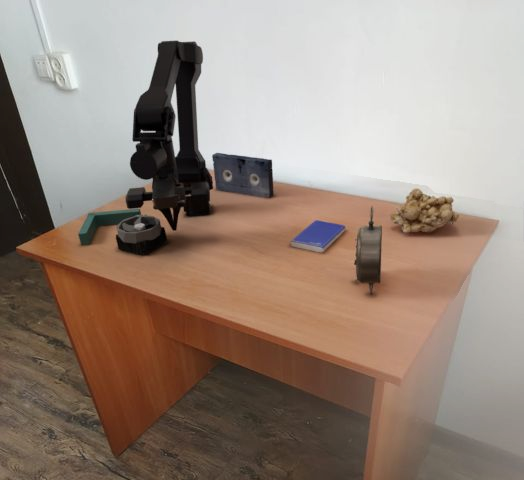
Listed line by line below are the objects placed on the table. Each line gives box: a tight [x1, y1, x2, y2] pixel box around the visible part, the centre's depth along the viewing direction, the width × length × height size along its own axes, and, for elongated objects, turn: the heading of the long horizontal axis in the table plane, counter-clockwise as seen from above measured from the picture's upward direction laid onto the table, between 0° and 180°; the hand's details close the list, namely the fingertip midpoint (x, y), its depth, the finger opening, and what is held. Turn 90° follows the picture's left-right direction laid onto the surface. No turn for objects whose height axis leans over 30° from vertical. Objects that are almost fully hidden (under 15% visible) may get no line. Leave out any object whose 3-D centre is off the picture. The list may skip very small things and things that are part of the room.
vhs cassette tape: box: [211, 152, 274, 199], centre depth 141 cm, size 18×3×10 cm, turn 59°
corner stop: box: [77, 208, 142, 246], centre depth 127 cm, size 14×13×3 cm
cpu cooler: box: [115, 214, 168, 256], centre depth 119 cm, size 10×6×10 cm
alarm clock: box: [353, 205, 383, 296], centre depth 96 cm, size 11×5×16 cm, turn 168°
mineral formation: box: [388, 187, 460, 234], centre depth 117 cm, size 8×13×15 cm
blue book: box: [290, 220, 346, 254], centre depth 117 cm, size 2×8×12 cm
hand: (174, 230), depth 119 cm, fingers closed
